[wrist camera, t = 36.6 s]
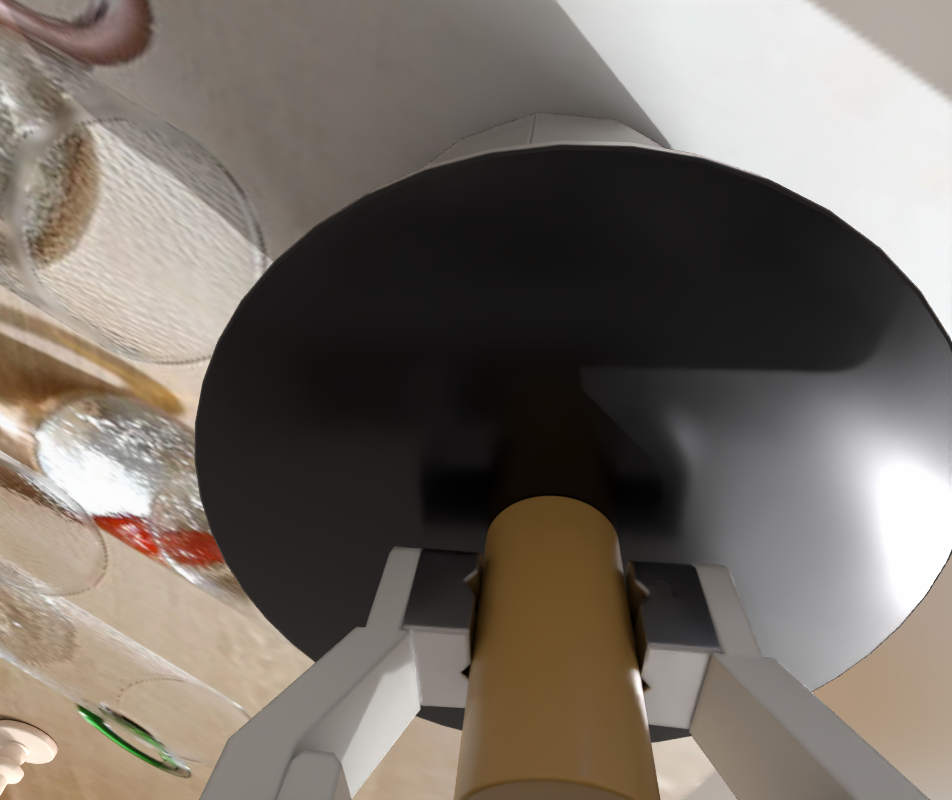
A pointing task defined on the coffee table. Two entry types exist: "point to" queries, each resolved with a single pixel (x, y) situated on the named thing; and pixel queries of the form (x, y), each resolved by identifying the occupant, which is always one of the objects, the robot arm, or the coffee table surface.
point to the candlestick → (22, 750)
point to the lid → (582, 433)
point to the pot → (544, 134)
